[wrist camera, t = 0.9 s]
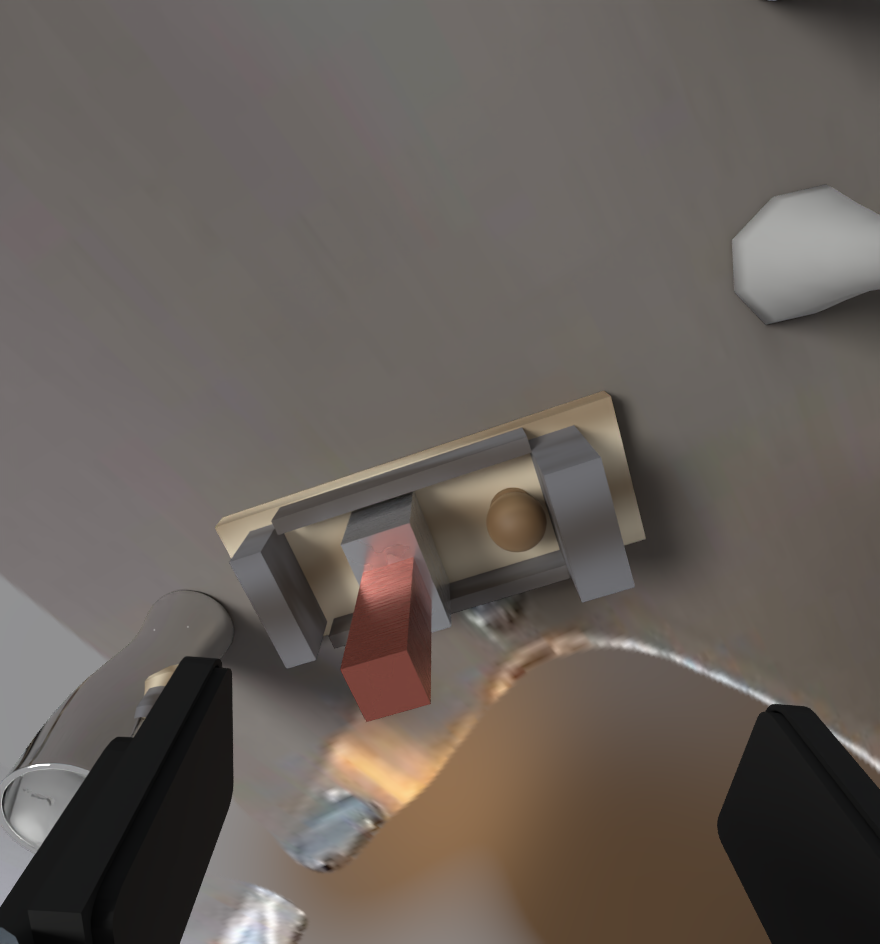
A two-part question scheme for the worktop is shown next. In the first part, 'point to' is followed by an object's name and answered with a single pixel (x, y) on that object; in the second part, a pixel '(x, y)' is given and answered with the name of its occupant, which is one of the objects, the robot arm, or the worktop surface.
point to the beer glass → (107, 711)
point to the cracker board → (449, 524)
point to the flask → (806, 254)
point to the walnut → (516, 520)
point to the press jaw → (393, 606)
